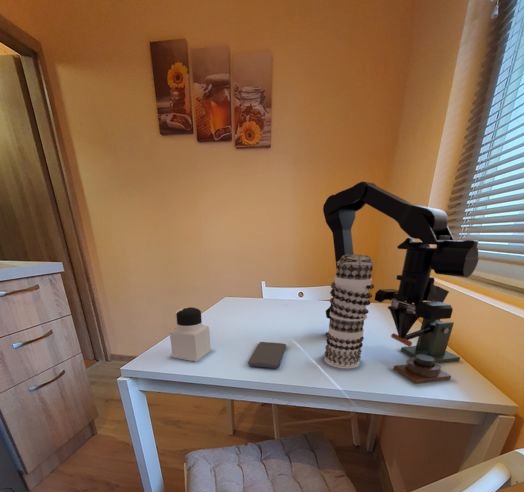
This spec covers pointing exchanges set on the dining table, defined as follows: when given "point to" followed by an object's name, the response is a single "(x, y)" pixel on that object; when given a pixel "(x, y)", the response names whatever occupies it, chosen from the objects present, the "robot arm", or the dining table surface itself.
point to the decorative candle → (348, 310)
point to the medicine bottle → (189, 335)
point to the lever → (415, 333)
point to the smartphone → (267, 355)
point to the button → (424, 360)
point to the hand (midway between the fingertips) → (401, 337)
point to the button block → (421, 372)
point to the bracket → (433, 343)
